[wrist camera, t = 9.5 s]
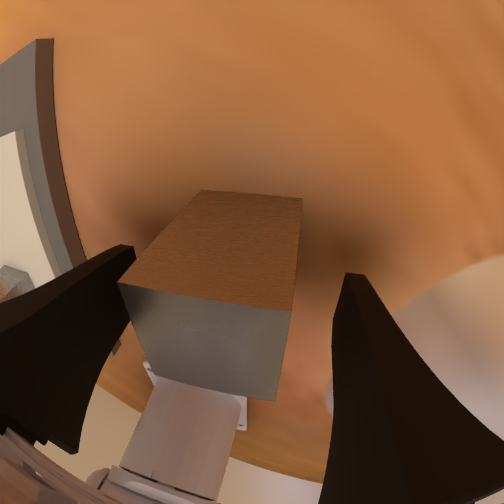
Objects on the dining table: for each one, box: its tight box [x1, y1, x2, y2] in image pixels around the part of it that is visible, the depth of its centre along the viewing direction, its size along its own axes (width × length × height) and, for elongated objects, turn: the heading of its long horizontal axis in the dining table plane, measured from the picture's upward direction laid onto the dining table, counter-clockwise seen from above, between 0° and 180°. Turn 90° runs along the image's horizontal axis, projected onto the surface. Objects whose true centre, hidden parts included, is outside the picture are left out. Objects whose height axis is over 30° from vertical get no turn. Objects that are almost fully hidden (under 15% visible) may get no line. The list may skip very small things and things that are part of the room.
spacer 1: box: [0, 265, 35, 303], centre depth 13 cm, size 4×4×6 cm
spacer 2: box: [117, 190, 302, 401], centre depth 9 cm, size 4×4×6 cm
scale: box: [0, 39, 121, 356], centre depth 13 cm, size 21×14×2 cm, turn 179°
